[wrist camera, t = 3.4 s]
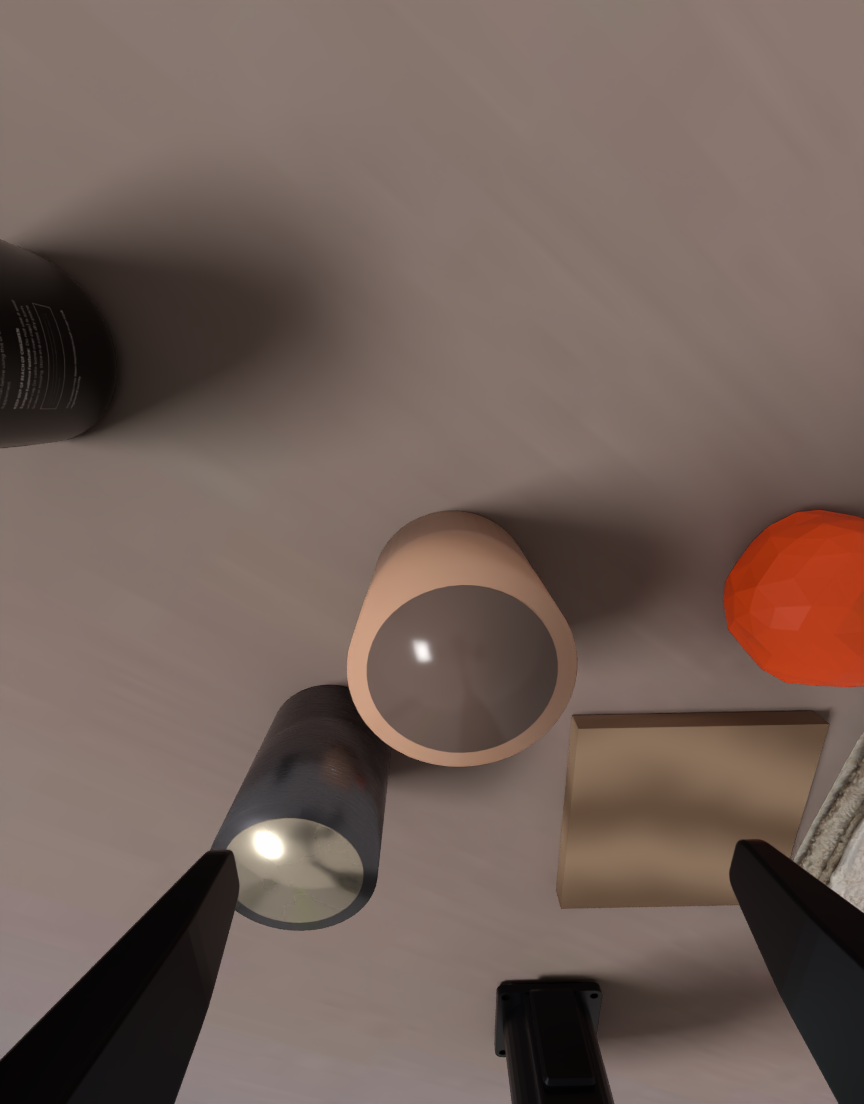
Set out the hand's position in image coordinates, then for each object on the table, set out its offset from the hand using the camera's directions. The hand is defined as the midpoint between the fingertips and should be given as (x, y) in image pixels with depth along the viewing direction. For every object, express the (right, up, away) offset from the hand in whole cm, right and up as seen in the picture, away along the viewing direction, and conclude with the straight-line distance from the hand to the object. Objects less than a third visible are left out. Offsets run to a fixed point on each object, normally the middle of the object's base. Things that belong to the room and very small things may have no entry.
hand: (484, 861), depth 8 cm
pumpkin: (+15, +4, +13) cm, 20 cm away
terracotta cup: (0, +4, +12) cm, 13 cm away
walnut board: (+12, -8, +16) cm, 22 cm away
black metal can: (-6, -4, +15) cm, 16 cm away
